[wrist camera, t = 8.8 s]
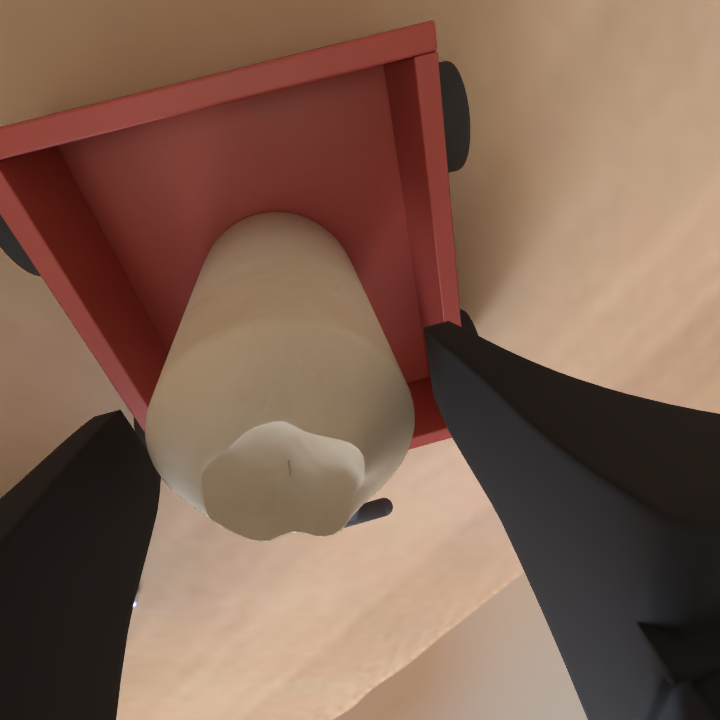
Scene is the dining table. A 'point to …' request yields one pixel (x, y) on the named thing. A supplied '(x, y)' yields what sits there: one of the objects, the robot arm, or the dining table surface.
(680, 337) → the dining table surface
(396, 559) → the dining table surface
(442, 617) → the dining table surface
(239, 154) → the cart
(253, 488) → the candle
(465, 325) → the cart wheels
